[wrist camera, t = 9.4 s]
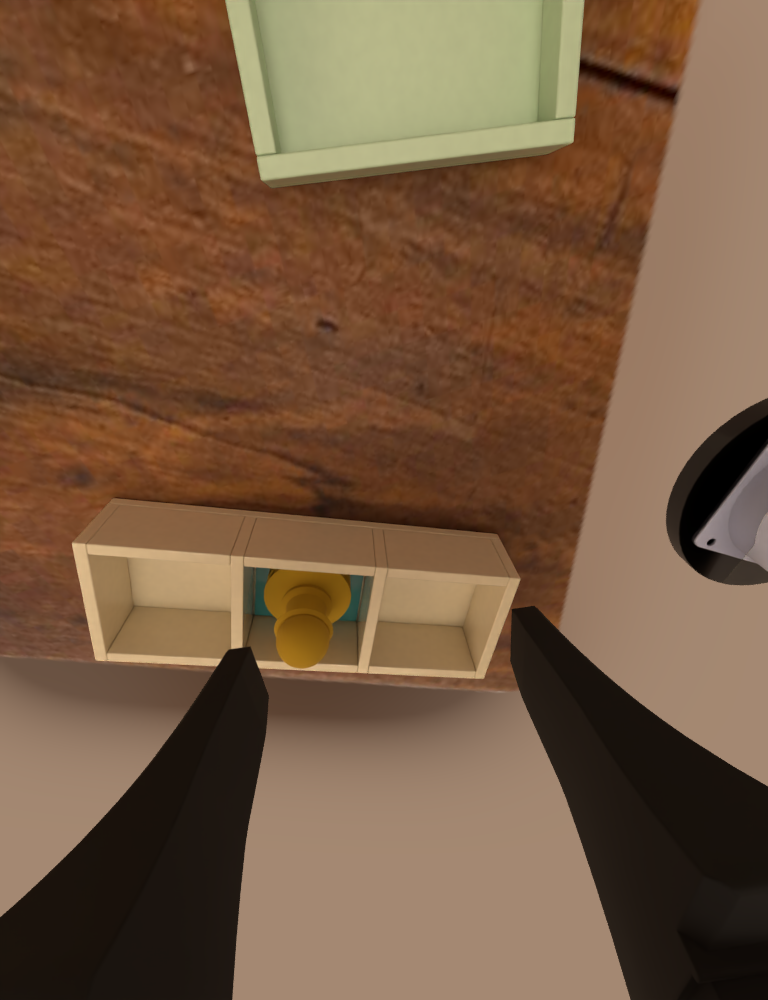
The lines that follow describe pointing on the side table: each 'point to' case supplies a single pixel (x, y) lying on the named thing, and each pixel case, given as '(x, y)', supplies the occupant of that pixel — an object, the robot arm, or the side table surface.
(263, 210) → the side table surface
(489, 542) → the three-compartment organizer
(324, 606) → the chess piece
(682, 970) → the robot arm
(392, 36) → the tray
